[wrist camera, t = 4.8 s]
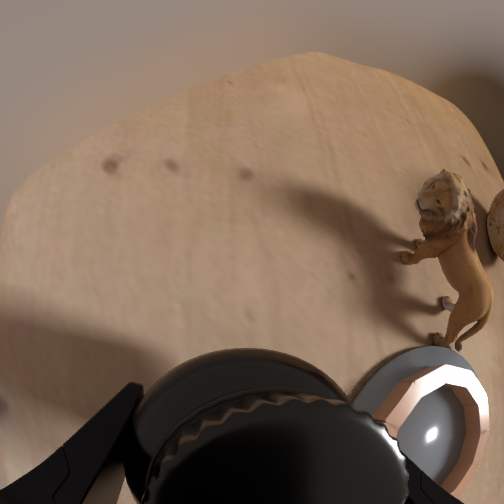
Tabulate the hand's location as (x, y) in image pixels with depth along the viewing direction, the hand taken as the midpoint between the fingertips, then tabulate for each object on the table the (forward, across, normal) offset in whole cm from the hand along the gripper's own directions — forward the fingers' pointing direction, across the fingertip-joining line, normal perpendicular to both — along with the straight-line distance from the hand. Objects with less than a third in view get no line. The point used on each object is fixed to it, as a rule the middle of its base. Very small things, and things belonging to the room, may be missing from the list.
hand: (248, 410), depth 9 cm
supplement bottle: (+4, 0, +6) cm, 7 cm away
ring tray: (+4, -18, +11) cm, 21 cm away
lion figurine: (+15, -17, 0) cm, 23 cm away
